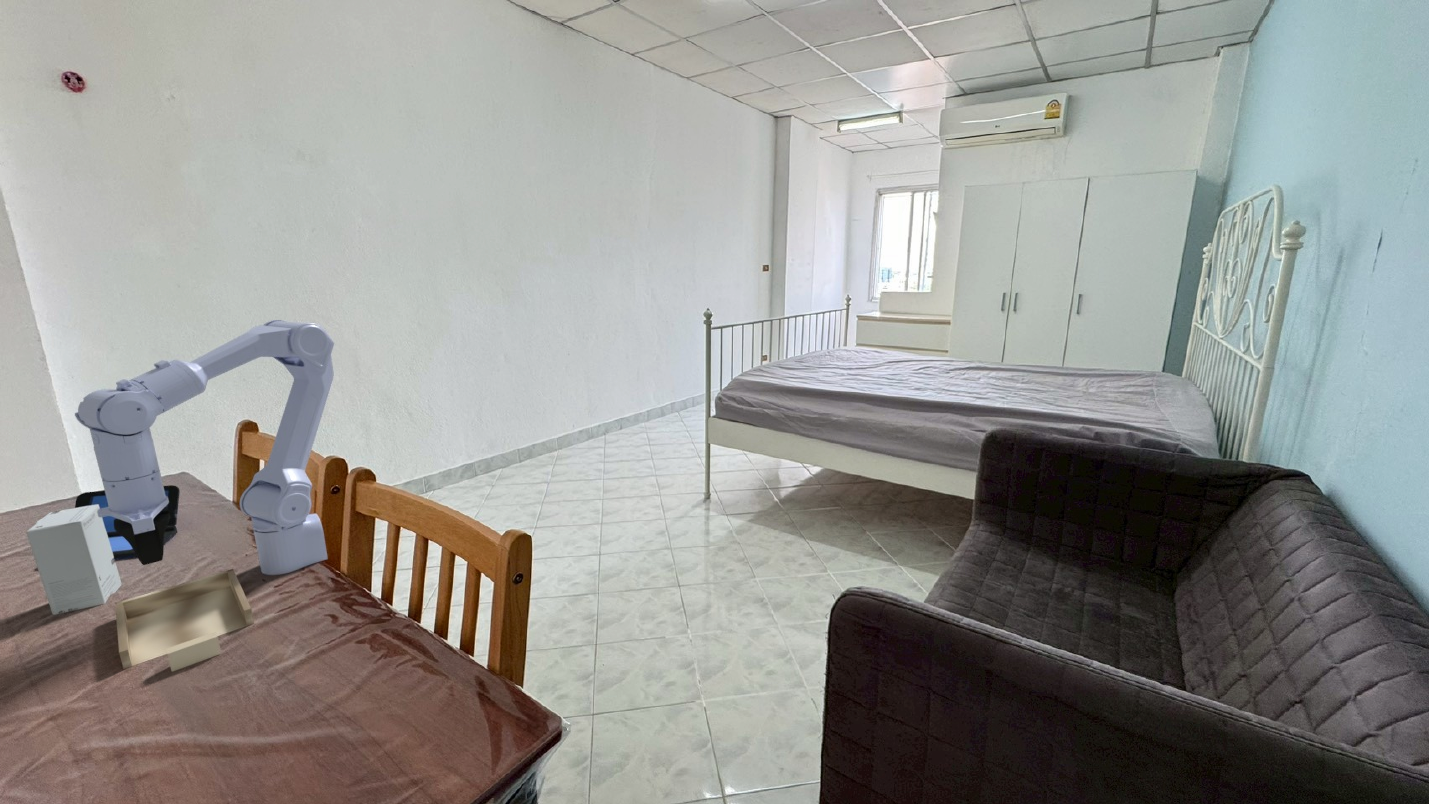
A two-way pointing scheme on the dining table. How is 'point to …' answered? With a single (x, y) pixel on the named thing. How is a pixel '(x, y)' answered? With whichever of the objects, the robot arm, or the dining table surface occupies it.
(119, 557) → the handheld game console
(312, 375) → the robot arm
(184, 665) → the cover plate
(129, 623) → the birch box
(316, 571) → the dining table surface
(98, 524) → the skincare box
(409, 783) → the dining table surface
